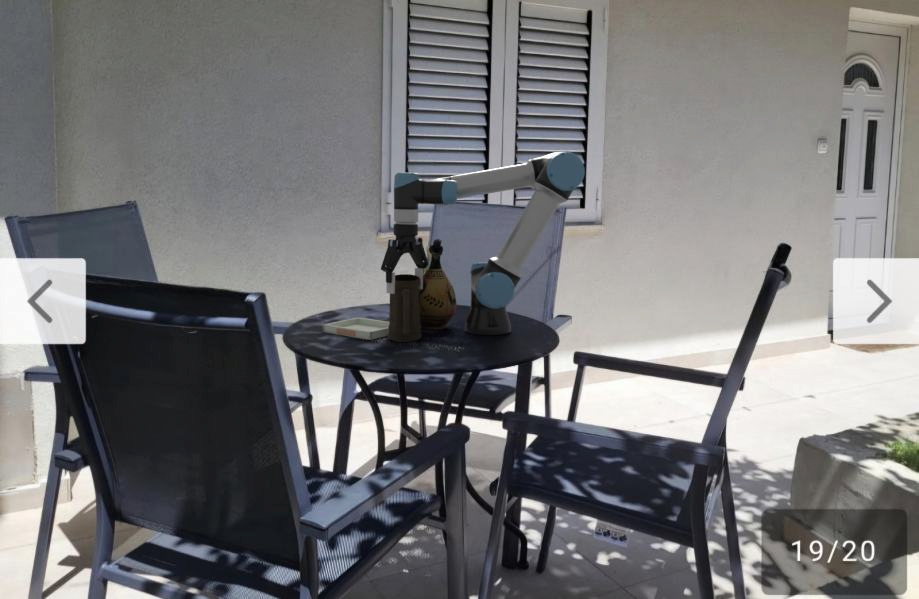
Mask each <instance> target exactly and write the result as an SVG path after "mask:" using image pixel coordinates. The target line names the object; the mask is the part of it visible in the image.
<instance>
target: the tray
mask: <svg viewBox="0 0 919 599" xmlns="http://www.w3.org/2000/svg"><path fill="white" fill-rule="evenodd" d="M388 327H389V321H385V320H379V319H371V318H366V317H359V316H358V317H354V318H348V319H344V320H338V321H333V322H329V323H325V324H324V323H323V324H322V332H323V333H326V334H331V335H332V334H333V335H339V336H344V337H349V338H350V337H351V338H357V339H362V340H369V341H372V340H376V339H380V338H384V337H388V333H389V328H388Z"/></svg>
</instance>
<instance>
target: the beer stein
mask: <svg viewBox="0 0 919 599" xmlns="http://www.w3.org/2000/svg"><path fill="white" fill-rule="evenodd" d="M419 285H420V278H419V277H418V276H416V275H415V274H411V273H409V274H407V273H406V274H404V273H403V274H402V273H401V274H395V294H391V293H389V317H388V318H389V320H388V322H389V327H388V328H389V333H388V336H387V338H388V339H389V340H390V341H392V342H398V343H410V342H416V341H419V340H420V339H421V338H422V335H423V334H422V331H421V329H422V328H421V325H420V317H419V304H418V299H419Z"/></svg>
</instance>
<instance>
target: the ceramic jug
mask: <svg viewBox="0 0 919 599" xmlns="http://www.w3.org/2000/svg"><path fill="white" fill-rule="evenodd" d="M429 246H430V247H429ZM429 246H428V247H429V252H430V253H431V254H432V258H431V260H430V264H429V265H428V266H429V269H428V270H426V271H425V272H424V276H423V289H419V299H418V304H419V317H420V325H421V329H423V330H427V331H428V330H429V331H433V330H444V329H446V327H447V325H448V323H449V322H450V321H451V320H452V319H453V317H454V315H455V313H456V310H457V304H458V303H457V295H456V292H455V289H454V286H453V285H452V283H451V281H450V280H449V278H448V276H447V275H446V273H445V271H444V270H443V267H442V263H441V256H442V255H443V252H444V247H443V245H442V239H440V238H437V239H434V240H433V243H432V244H431V245H429Z"/></svg>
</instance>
